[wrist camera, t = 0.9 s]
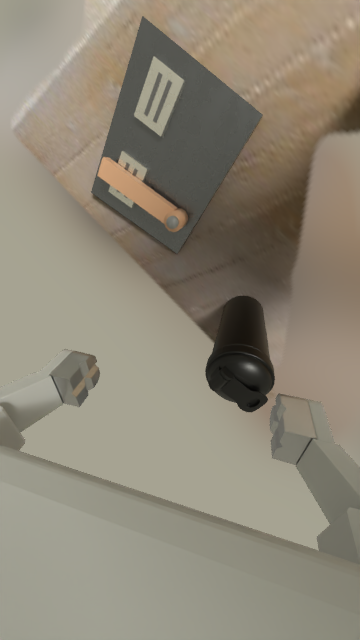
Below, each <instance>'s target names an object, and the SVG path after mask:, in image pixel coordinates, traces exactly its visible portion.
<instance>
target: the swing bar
mask: <svg viewBox="0 0 360 640" xmlns="http://www.w3.org/2000/svg"><path fill="white" fill-rule="evenodd" d="M97 176H99V177H100V178H101V179H103V180H104V181H106V182H107V183H108V184H110V185H111V186H112V187H114V188H115V189H117V190H118V191H119V192H121V193H122V194H124V195H125V196H126V197H128V198H129V199H130V200H132V201H133V202H135V203H136V204H137V205H139V206H140V207H142V208H143V209H144V210H146V211H147V212H148V213H150V214H151V215H153V216H154V217H155V218H157V219H158V220H160V221H161V222H162V223H164V224H165V227H166V228H167V229H168V230H169V231H171V232H177V231H179V230H180V229H181V228H182V227H184V226H185V225H186V224H187V222H188V215H187V213H186V211H185V210H183V209H180V208H178V209H177V207H176V206H174V205H173V204H172V203H170V202H169V201H167V200H166V199H165V198H163V197H162V196H161V195H159V194H158V193H157V192H155V191H154V190H153V189H151V188H150V187H148V186H147V185H146V184H144V183H143V182H142V181H140V180H139V179H138V178H136V177H135V176H134V175H132V174H131V173H129V172H128V171H127V170H125V169H124V168H123V167H121V166H120V165H119V164H117V163H116V162H115V161H113V160H112V159H110V158H109V157H103V158H102V161H101V165H100V168H99V172H98V175H97Z"/></svg>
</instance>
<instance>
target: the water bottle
mask: <svg viewBox="0 0 360 640" xmlns="http://www.w3.org/2000/svg"><path fill="white" fill-rule="evenodd" d="M206 378H207V381H208V383H209V386H210V388H211V389H212V390H213V391H215V392H216V393H217V394H218V395H219V396H221V397H222V398H224V399H226V400H229V401H232V402H236V403H237V404H238V406H239V408H240V409H242V410H243V411H246V412H253V411H255V410H257V409H259V408H260V407H261V406H263V405H264V404H265V403H266V402H267V400H268V398H267V397H266V396H265V395H266V394H268V393H269V392H270V391H271V389H272V388H273V386H274V380H275V376H274V368H273V365H272V363H271V361H270V356H269V349H268V340H267V334H266V328H265V321H264V314H263V308H262V306H261V304H260V303H259V302H258V301H257V300H256V299H254V298H252V297H249V296H238V297H235V298H232V299H231V300H229V301H228V302H227V304H226V305H225V307H224V311H223V314H222V318H221V322H220V326H219V329H218V333H217V337H216V341H215V344H214V348H213V352H212V354H211V356H210V357H209V359H208V362H207V366H206Z"/></svg>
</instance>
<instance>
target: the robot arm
mask: <svg viewBox="0 0 360 640" xmlns="http://www.w3.org/2000/svg"><path fill="white" fill-rule="evenodd" d="M96 362H97V360H96V357H95V356H93V355H90V354H85V353H81V352H77V351H72V350H68V349H64V350H62V351H61V352H60V353H59V354H58V355H56V356H55V357H54V358H53V359H52V360H51V361H50V362H49V363H48V364H47V365H46V366H45V367H44V368H43V369H42V370H40V371H39V372H38V373H37V372H34V373H32V374H30V375H27V376H25V377H23V378H20V379H18V380H15V381H13V382H11V383H8V384H6V385H4V386H1V387H0V640H360V467H359V466H358V465H357V464H356V463H355V462H354V460H353V459H352V458H351V457H350V456H349V455H348V454H347V453H346V452H345V450H344V449H343V448H342V447H341V446H340V445H337V444H335V442H334V439H333V436H332V433H331V429H330V426H329V423H328V419H327V416H326V413H325V410H324V406H323V404H322V403H321V402H318V401H313V400H308V399H304V398H299V397H294V396H289V395H284V394H278V395H277V397H276V405H275V406H273V408H272V411H271V416H270V430H271V432H272V433H273V437H272V440H271V450H272V458H273V459H277V460H280V461H284V462H287V463H291V464H294V465H296V467H297V469H298V471H299V473H300V474H301V476H302V477H303V479H304V481H305V482H306V484H307V486H308V488H309V489H310V491H311V493H312V494H313V496H314V498H315V500H316V501H317V503H318V505H319V506H320V508H321V509H322V511H323V513H324V515H325V516H326V518H327V520H328V522H329V523H330V525H329V526H328V527H327V528H326V529H325V530H324V531H323V532H322V533H321V534H319V535H318V536H317V542H318V548H319V551H318V550H315V549H312V548H309V547H306V546H303V545H300V544H297V543H294V542H291V541H288V540H285V539H282V538H279V537H276V536H273V535H270V534H267V533H264V532H261V531H258V530H255V529H252V528H249V527H246V526H243V525H240V524H237V523H234V522H231V521H228V520H225V519H222V518H219V517H216V516H213V515H210V514H207V513H204V512H201V511H198V510H195V509H192V508H189V507H186V506H183V505H179V504H177V503H173V502H171V501H168V500H165V499H162V498H159V497H156V496H153V495H150V494H147V493H144V492H141V491H138V490H135V489H132V488H129V487H126V486H123V485H120V484H117V483H114V482H111V481H108V480H104V479H102V478H99V477H96V476H92V475H90V474H87V473H84V472H81V471H78V470H75V469H72V468H69V467H66V466H63V465H60V464H57V463H53V462H51V461H48V460H45V459H42V458H39V457H36V456H33V455H30V454H27V453H24V452H21V451H19V450H20V449H21V447H22V446H23V445H24V444H25V439H24V438H23V436H22V435H21V433H20V432H22V431H23V430H25V429H26V428H28V427H29V426H31V425H32V424H34V423H35V422H37V421H38V420H40V419H41V418H43V417H45V416H46V415H47V414H49V413H51V412H52V411H53V410H55V409H57V408H58V407H60V406H61V405H63V403H65V404H69V405H73V406H77V407H80V406H81V404H82V403H83V402H84V400H85V399H86V398H87V396H88V390H90V389H92V388H94V387H95V385H96V383H97V382H98V379H99V375H100V372H99V368H98V367H97V366H96V365H95V363H96Z"/></svg>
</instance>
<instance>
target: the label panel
mask: <svg viewBox="0 0 360 640" xmlns="http://www.w3.org/2000/svg"><path fill="white" fill-rule="evenodd" d="M261 118H262V114H261V113H260V112H258V111H257V110H256V109H255V108H254V107H252V106H251V105H250V104H249V103H248V102H246V101H245V100H244V99H243V98H241V97H240V96H239V95H238V94H237V93H235V92H234V91H233V90H232V89H231V88H229V87H228V86H227V85H226V84H224V83H223V82H222V81H221V80H220V79H218V78H217V77H216V76H215V75H214V74H212V73H211V72H210V71H209V70H207V69H206V68H205V67H204V66H203V65H201V64H200V63H199V62H198V61H197V60H195V59H194V58H193V57H192V56H190V55H189V54H188V53H187V52H186V51H184V50H183V49H182V48H181V47H180V46H178V45H177V44H176V43H175V42H173V41H172V40H171V39H170V38H169V37H167V36H166V35H165V34H164V33H163V32H161V31H160V30H159V29H158V28H156V27H155V26H154V25H153V24H152V23H150V22H149V21H148V20H147V19H146V18H144V17H143V16H142V20H141V23H140V27H139V30H138V33H137V37H136V40H135V44H134V47H133V51H132V54H131V58H130V61H129V64H128V68H127V71H126V75H125V78H124V82H123V85H122V88H121V92H120V95H119V99H118V102H117V106H116V109H115V112H114V116H113V119H112V123H111V126H110V130H109V133H108V136H107V140H106V143H105V147H104V150H103V154H102V157H101V160H100V164H99V167H98V171H97V174H96V178H95V181H94V184H93V188H92V191H91V193H93V194H94V195H95V196H97V197H98V198H100V199H101V200H102V201H104V202H105V203H107V204H108V205H109V206H111V207H112V208H114V209H115V210H116V211H118V212H119V213H121V214H122V215H123V216H125V217H126V218H128V219H129V220H130V221H132V222H133V223H135V224H136V225H137V226H139V227H140V228H142V229H143V230H145V231H146V232H147V233H149V234H150V235H152V236H153V237H154V238H156V239H157V240H159V241H160V242H161V243H163V244H164V245H166V246H167V247H168V248H170V249H171V250H173V251H174V252H175V253H178V252H179V251H180V249H181V248H182V246H183V245H184V243H185V241H186V240H187V238H188V236H189V235H190V233H191V232H192V230H193V228H194V227H195V225H196V223H197V222H198V220H199V219H200V217H201V215H202V214H203V212H204V211H205V209H206V207H207V206H208V204H209V202H210V201H211V199H212V198H213V196H214V194H215V193H216V191H217V189H218V188H219V186H220V185H221V183H222V181H223V180H224V178H225V176H226V175H227V173H228V172H229V170H230V168H231V167H232V165H233V164H234V162H235V160H236V159H237V157H238V155H239V154H240V152H241V151H242V149H243V147H244V146H245V144H246V142H247V141H248V139H249V138H250V136H251V134H252V133H253V131H254V129H255V128H256V126H257V125H258V123H259V121H260V120H261ZM103 157H109V158H110V159H112V160H113V161H115V162H116V163H117V164H119V165H120V166H121V167H123V168H124V169H125V170H127V171H128V172H129V173H131V174H132V175H134V176H135V177H136V178H138V179H139V180H140V181H142V182H143V183H144V184H146V185H147V186H148V187H150V188H151V189H153V190H154V191H155V192H157V193H158V194H159V195H161V196H162V197H163V198H165V199H166V200H167V201H169V202H170V203H172V204H173V205H174V206H176V207H177V209H178V208H180V209H183V210H185V211H186V213H187V215H188V222H187V224H186V225H185V226H184V227H182V228H181V229H180V230H179V231H177V232H171V231H169V230H168V229H167V228H166V227H165V224H164V223H162V222H161V221H160V220H158V219H157V218H155V217H154V216H153V215H151V214H150V213H148V212H147V211H146V210H144V209H143V208H142V207H140V206H139V205H137V204H136V203H135V202H133V201H132V200H130V199H129V198H128V197H126V196H125V195H124V194H122V193H121V192H119V191H118V190H117V189H115V188H114V187H112V186H111V185H110V184H108V183H107V182H106V181H104V180H103V179H101V178H100V177H99V176H97V175H98V172H99V168H100V165H101V161H102V158H103Z"/></svg>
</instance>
